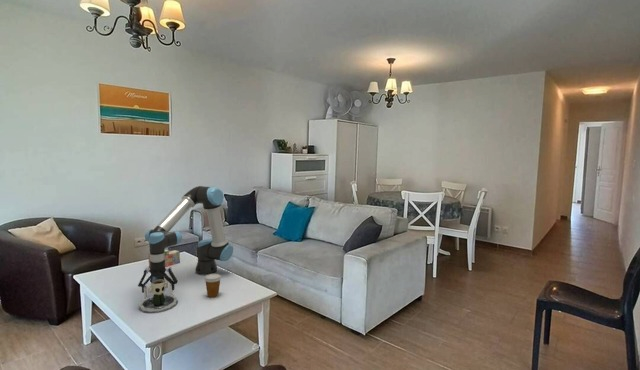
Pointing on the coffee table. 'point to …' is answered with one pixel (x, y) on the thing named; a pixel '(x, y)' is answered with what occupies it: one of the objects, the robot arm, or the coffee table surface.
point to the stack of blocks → (170, 258)
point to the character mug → (158, 291)
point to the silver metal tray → (149, 307)
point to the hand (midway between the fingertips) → (158, 296)
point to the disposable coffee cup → (212, 284)
